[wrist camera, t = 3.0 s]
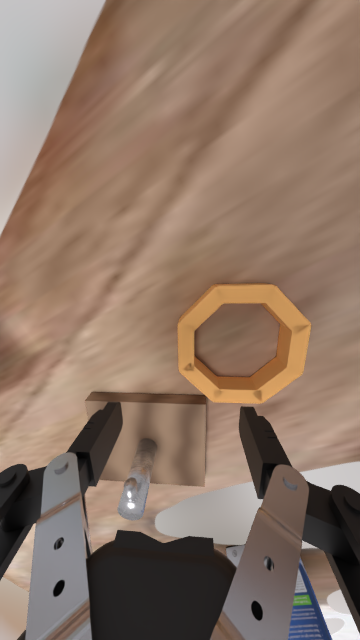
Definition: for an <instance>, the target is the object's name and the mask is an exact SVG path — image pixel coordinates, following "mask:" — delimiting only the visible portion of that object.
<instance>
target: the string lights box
mask: <svg viewBox="0 0 360 640" xmlns="http://www.w3.org/2000/svg"><path fill="white" fill-rule="evenodd" d="M244 547H245V545H239V546H234V547H229V548H226V552H227V558H228V559H230V560H231V561H232V563H233V564H234V565H235V566H236V567H238V564H239V561H240V558H241V555H242V553H243V550H244ZM288 640H332V638H331V635H330V633H329V630H328V628H327V625H326V622H325V620H324V617H323V614H322V612H321V609H320V607H319V604H318V601H317V599H316V596H315V594H314V591H313V588H312V586H311V583H310V581H309V578H308V575H307V573H306V570H305V568H304V565H303V563H302V560H301V558H300V561H299V568H298V575H297V581H296V588H295V595H294V602H293V608H292V615H291V622H290V628H289V635H288Z"/></svg>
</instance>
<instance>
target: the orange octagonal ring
mask: <svg viewBox="0 0 360 640" xmlns="http://www.w3.org/2000/svg"><path fill="white" fill-rule="evenodd" d="M223 303H261V304H262V305H263V306H264V308H265V309H266V310H267V311H268V312H269V313H270V314H271V315H272V316H273V317H274V318H275V319H276V320H277V321H278V322H279V323H280V330H279V338H278V345H277V353H276V357H275V358H274V359H272V360H271V361H270V362H268V363H267V364H266V365H265V366H263V367H262V368H261V369H260V370H258V371H257V372H256V373H254V374H253V375H252V376H251V377H217V376H216V375H215V374H213V373H212V372H211V371H210V370H209V369H208V368H207V367H206V366H205V365H204V364H203V363H202V362H201V361H199V360H198V359H197V358H196V357H195V356H194V331H195V330H196V329H197V328H198V327H199V326H200V325H201V324H202V323H203V322H204V321H205V320H206V319H207V318H208V317H209V316H210V315H212V314H213V313H214V312H215V311H216V310H217V309H218V308H219V307H220V306H221V305H222V304H223ZM310 324H311V323H310V322H309V321H308V320H307V319H306V318H305V317H304V316H303V315H302V313H301V312H300V311H299V310H298V309H297V308H296V307H295V306H294V305H293V304H292V303H291V302H290V300H289V299H288V298H287V297H286V296H285V295H284V294H283V293H282V292H281V291H280V290H279V288H278V287H277V286H276V285H271V284H265V283H254V284H214V285H212V286H211V287H210V288H209V289H208V290H207V291H206V292H205V293H204V294H203V295H202V296H201V297H200V298H199V299H198V300H197V301H196V302H195V303H194V304H193V305H192V306H191V307H190V308H189V309H188V310H187V311H186V312H185V313H184V314H183V315H182V316H181V317H180V319H179V322H178V363H179V372H180V373H181V374H182V375H183V376H184V377H185V378H187V379H188V380H189V381H190V382H191V383H192V384H193V385H194V386H195V387H197V388H198V389H199V390H200V391H201V392H202V393H203V394H204V395H206V396H207V397H208V398H209V399H210V400H211V401H212V402H226V403H258V404H261V402H262V403H263V402H265V401H266V400H267V399H269V398H270V397H272V396H273V395H274V394H276V393H277V392H279V391H280V390H281V389H283V388H284V387H285V386H287V385H288V384H290V383H291V382H292V381H294V380H295V379H297V378H298V377H299V376H301V375H302V374H301V373H303V370H304V365H305V359H306V353H307V347H308V342H309V336H310V330H311V325H310Z"/></svg>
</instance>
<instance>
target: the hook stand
mask: <svg viewBox="0 0 360 640" xmlns="http://www.w3.org/2000/svg"><path fill="white" fill-rule="evenodd" d="M109 401H111V402H120V403H121V408H122V416H123V426H122V430H121V432H120V434H119V437H118V439H117V441H116V443H115V445H114V448H113V450H112V452H111V454H110V456H109V459H108V461H107V463H106V465H105V468H104V470H103V472H102V474H101V476H100V479H99V480H110V481H125V484H124V490H123V493H122V496H121V499H120V503H119V506H118V513H119V514H120V515H121V516H122V517H123V518H125V519H128V520H138V519H140V518H141V517H142V516H143V513H144V508H145V503H146V498H147V494H148V489H149V484H150V483H156V484H171V485H186V486H201V487H205V438H206V398H205V395H173V394H138V393H104V392H92V393H91V394H90V395H89V396H88V398H87V399H86V400H85V405H86V410H87V416H88V421H89V419H90V418H91V416H92V415H93V414H95V413H96V412H97V411H98V410H99V409H101V410H103V409H104V407H105V406H106V404H107V403H108V402H109Z"/></svg>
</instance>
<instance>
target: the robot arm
mask: <svg viewBox="0 0 360 640" xmlns="http://www.w3.org/2000/svg"><path fill="white" fill-rule="evenodd" d="M122 426H123V416H122V408H121V403H120V402H111V401H109V402H108V403H107V404H106V406H105V407H104V409H103V410H101V409H99V410H98V411H97V412H96V413H95V414H93V415H92V416H91V418H90V419H89V421H88V422H87V424H86V425H85V426H84V428H83V430H82V431H81V432H80V434H79V435H78V436H77V438H76V439H75V441H74V442H73V444H72V445H71V446H70V448H69V449H68V451H67V452H66V453H64V454H61V455H59V456H57V457H56V458H55V459H53V460H52V461H51V462H50V463H49V464H48V466H46V467H42V468H38V469H35V470H31V471H28V469H27V467H26V465H24V464H17V465H14V466H11V467H9V468H7V469H5V470H4V471H2V472H1V473H0V580H1V578H2V577H3V575H4V573H5V572H6V570H7V568H8V567H9V565H10V563H11V561H12V560H13V558H14V556H15V555H16V553H17V551H18V550H19V548H20V546H21V544H22V543H23V541H24V539H25V538H26V536H27V534H28V533H29V531H30V529H31V527H32V526H33V524H34V523H36V528H35V538H34V549H33V560H32V571H31V582H30V593H29V604H28V605H29V606H28V616H27V626H26V630H25V631H24V632H23V633H22V634H21V636H20V637H19V638H18V639H17V640H288V635H289V628H290V622H291V615H292V608H293V602H294V595H295V588H296V581H297V575H298V568H299V561H300V555H301V548H302V540H303V541H305V542H307V543H309V544H311V545H313V546H315V547H317V548H319V549H321V550H323V551H324V552H325V554H326V556H327V559H328V561H329V563H330V566H331V568H332V570H333V573H334V575H335V577H336V580H337V582H338V584H339V587H340V589H341V591H342V594H343V596H344V598H345V600H346V603H347V605H348V607H349V610H350V612H351V614H352V617H353V619H354V621H355V624H356V626H357V628H358V631H359V633H360V494H359V493H358V492H356V491H355V490H353V489H351V488H349V487H347V486H344V485H335V486H333V488H332V490H331V491H330V490H327V489H324V488H322V487H319V486H316V485H314V484H311V483H309V482H308V481H306V480H305V478H304V477H303V476H302V475H301V474H300V473H299V472H298V471H297V470H296V469H294V468H293V467H292V465H291V463H290V461H289V460H288V458H287V456H286V454H285V452H284V450H283V448H282V446H281V444H280V442H279V440H278V439H277V436H276V434H275V433H274V430H273V428H272V426H271V424H270V423H269V422H268V421H267V420H266V419H265V418H264V417H263V416H257V413H256V411H255V409H254V407H243V406H241V408H240V419H239V433H240V438H241V441H242V445H243V448H244V452H245V455H246V459H247V462H248V466H249V469H250V472H251V476H252V479H253V483H254V486H255V490H256V493H257V497H258V499H263V503H262V505H261V507H260V508H259V509H258V511H257V513H256V516H255V519H254V522H253V525H252V527H251V530H250V533H249V536H248V539H247V541H246V544H245V547H244V550H243V553H242V555H241V558H240V561H239V564H238V567H236V566H235V565H234V564H233V563H232V561H231V560H230V559H228V558H227V557H226V556H225V555H224V554H222V553H221V552H219V551H218V550H216V549H214V545H213V538H204V537H192V536H188V537H184V538H181V539H178V540H174V541H171V542H167V543H161V542H159V541H157V540H155V539H153V538H151V537H149V536H147V535H145V534H143V533H141V532H135V531H123V530H118V531H117V534H116V537H115V540H114V541H111V542H109V543H107V544H105V545H103V546H102V547H100V548H99V549H97V550H96V551H95V552H92V546H91V540H90V533H89V524H88V516H87V508H86V499H85V492H86V490H87V488H88V486H96V485H97V483H98V481H99V479H100V476H101V474H102V472H103V470H104V468H105V465H106V463H107V461H108V459H109V456H110V454H111V452H112V450H113V448H114V445H115V443H116V441H117V439H118V437H119V434H120V432H121V430H122Z"/></svg>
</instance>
